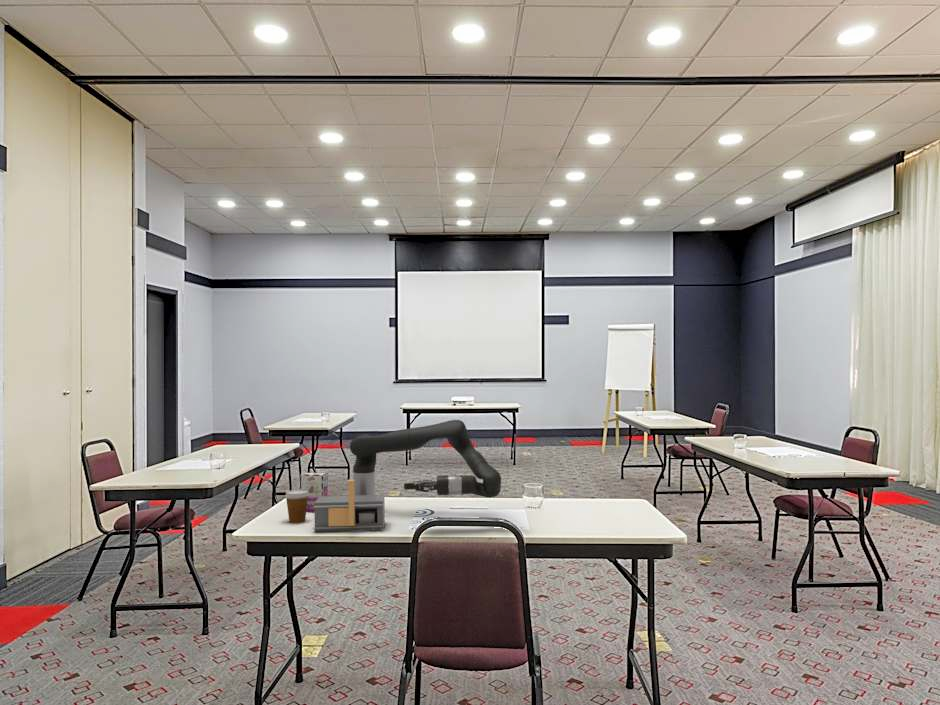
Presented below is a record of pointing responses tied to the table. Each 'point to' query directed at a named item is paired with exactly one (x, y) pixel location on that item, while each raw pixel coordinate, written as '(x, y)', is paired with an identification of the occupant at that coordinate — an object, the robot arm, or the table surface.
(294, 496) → the disposable coffee cup
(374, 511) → the case
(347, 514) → the side door
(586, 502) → the table surface
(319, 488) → the candy bar box
